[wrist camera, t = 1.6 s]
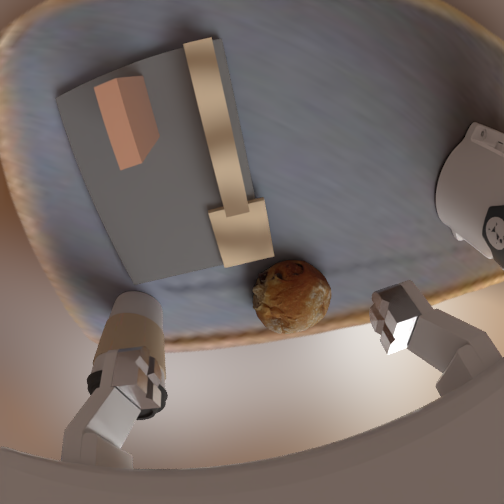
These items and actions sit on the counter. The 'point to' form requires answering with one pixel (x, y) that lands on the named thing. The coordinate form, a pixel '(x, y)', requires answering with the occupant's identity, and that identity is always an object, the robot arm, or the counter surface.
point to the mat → (156, 170)
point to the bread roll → (291, 296)
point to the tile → (128, 119)
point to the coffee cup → (132, 338)
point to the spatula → (226, 166)
